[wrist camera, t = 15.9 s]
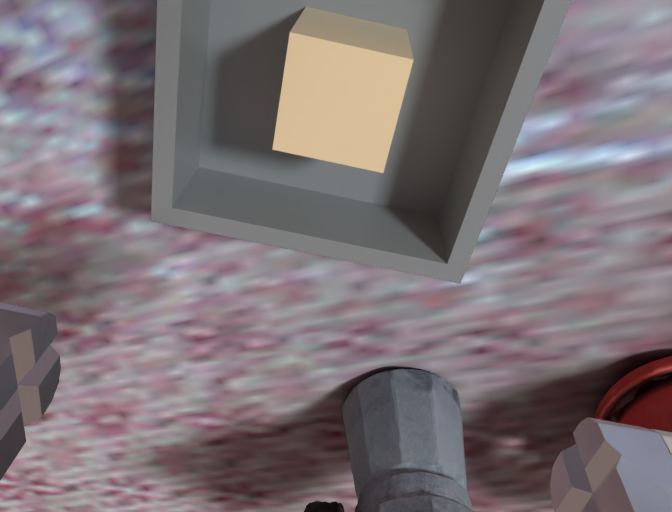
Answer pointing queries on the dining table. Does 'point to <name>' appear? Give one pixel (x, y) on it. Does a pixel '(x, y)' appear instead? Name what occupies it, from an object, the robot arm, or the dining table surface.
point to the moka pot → (404, 445)
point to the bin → (332, 178)
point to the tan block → (342, 89)
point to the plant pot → (641, 397)
